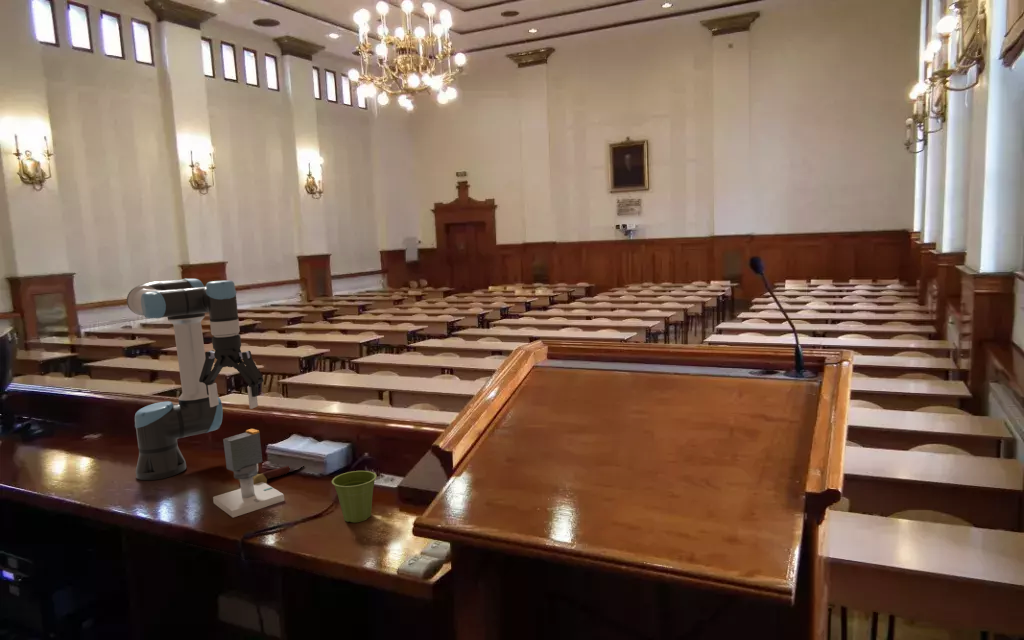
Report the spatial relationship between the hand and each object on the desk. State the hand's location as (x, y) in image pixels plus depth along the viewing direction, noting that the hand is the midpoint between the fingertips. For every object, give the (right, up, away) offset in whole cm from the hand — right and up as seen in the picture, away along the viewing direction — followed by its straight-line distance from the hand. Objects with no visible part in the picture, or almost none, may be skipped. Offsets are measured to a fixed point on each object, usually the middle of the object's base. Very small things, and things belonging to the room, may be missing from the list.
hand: (234, 406), depth 191 cm
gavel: (+4, -26, +23) cm, 35 cm away
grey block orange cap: (+3, -20, +2) cm, 21 cm away
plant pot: (+39, -29, -11) cm, 50 cm away
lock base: (+3, -29, +3) cm, 29 cm away
